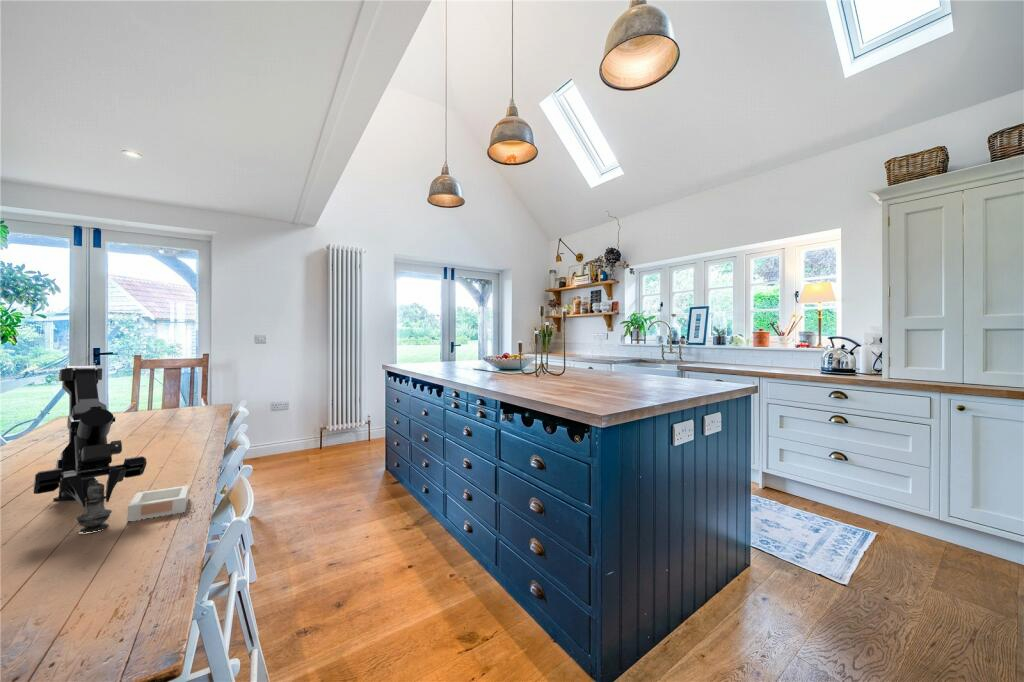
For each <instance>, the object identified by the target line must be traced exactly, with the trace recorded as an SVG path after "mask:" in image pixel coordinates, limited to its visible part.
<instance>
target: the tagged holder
mask: <svg viewBox="0 0 1024 682" xmlns="http://www.w3.org/2000/svg"><path fill="white" fill-rule="evenodd" d="M189 499H190V485H189V484H188V485H181V486H174V487H169V488H160V489H154V490H147V491H140V492H136V494H135V495H134V496H133V498H132V499H131V500H130V502H129V504H128V505H127V511H126V512H127V516H126V523H129V522H128V521H132V522H137V521H141V519H143V520H147V519H146V518H149V519H154V518H153V517H155V518H160V517H159V516H161V517H166V516H171V514H172V515H177V513H178V514H183V512H184V513H185V512H186V509H187V506H188V503H189ZM165 515H166V516H165ZM136 520H137V521H136Z"/></svg>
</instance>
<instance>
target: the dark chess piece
mask: <svg viewBox="0 0 1024 682" xmlns="http://www.w3.org/2000/svg"><path fill="white" fill-rule="evenodd" d="M105 500H106V495H105V484H103V483H100V482H99V481H98V480H97V479H96V481H95V483H94V484H92V485H90V486H89V487H88V489H87V496H86V498H85V502H86V505H85V510H84V512H83V513H82V514H80V515H78V516H77V517H76V520H77V523H78V524H79V526H81V527H82V528H81V529H79V530H80V531H79V530H78V531H79V532H83V533H86V532H93V531H98V530H102V529H104V530H106V529H108V528H109V527H110V524H109V523H105V522H106V521H108V519H109V517H110V516H111V514H112V509H106V508H105V503H104V502H105ZM108 526H109V527H108ZM107 527H108V528H107ZM105 528H106V529H105ZM102 531H103V530H102Z"/></svg>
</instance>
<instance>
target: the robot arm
mask: <svg viewBox="0 0 1024 682" xmlns="http://www.w3.org/2000/svg"><path fill="white" fill-rule="evenodd" d="M58 381H59V382H61V383H62V384H61V387H62V389H63V390H64V391H65V392H66V394H68V395H69V415H68V416H67V424H66V426H67V429H68V430H69V431H68V432H69V433H68V444H67V445H66V447H65V448H63V450H62V452H60V458H57V460H56V464H55V468H53V469H49V470H48V469H47V470H41V471H38V472H37V473H35V475H34V480H33V494H35V495H39V494H45V493H50V492H55V491H56V490H57V489H58V496H56V497H53V498H52V500H53V501H70V500H71V501H73V500H75V501H77V503H78V504H79V505H80V506H81V507H82V508H86V502H85V500H86V498H87V489H88V487H89V486H90V485H92V484H94V483H95V481H96V480H97V479H96V478H97V477H102V476H108V477H107V481H106V488H105V496H106V498H105V502H106V503H109V502H110V498H111V496H112V493H113V491H114V488H116V485H117V484H118V483H121V482H123V480H124V478H126V479H128V478H135V477H139V476H142V475H143V474H144V472H145V470H146V466H147V465H148V463H147V458H146V457H145V456H142V455H141V456H135V457H129V458H124V461H123V464H117V465H110V464H112V461H113V458H112V457H113V455H118V454H121V453H122V452H123V445H122V444H123V443H122V440H121V439H120V440H118V439H117V440H112V441H110V443H108V439H107V437H108V435H109V433H110V431H111V426H112V425H113V423H114V422H116V417H115V416H114V414H113V413H112V412H111V411H110V410H108V409H107V405H106V404H105V403H103V402H102V401H100V399H99V393H98V390H99V389H98V383H99V381H103V368H100V367H96V365H65V368H60V369H59V371H58Z"/></svg>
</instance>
